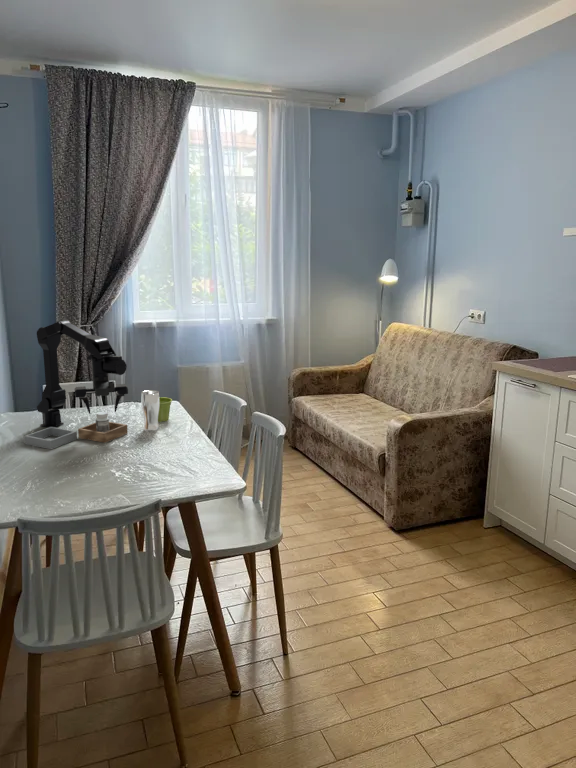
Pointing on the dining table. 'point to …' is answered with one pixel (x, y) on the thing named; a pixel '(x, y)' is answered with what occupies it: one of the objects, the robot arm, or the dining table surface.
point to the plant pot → (164, 409)
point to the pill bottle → (102, 422)
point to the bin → (62, 434)
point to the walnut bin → (92, 434)
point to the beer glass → (150, 409)
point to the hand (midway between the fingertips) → (102, 412)
